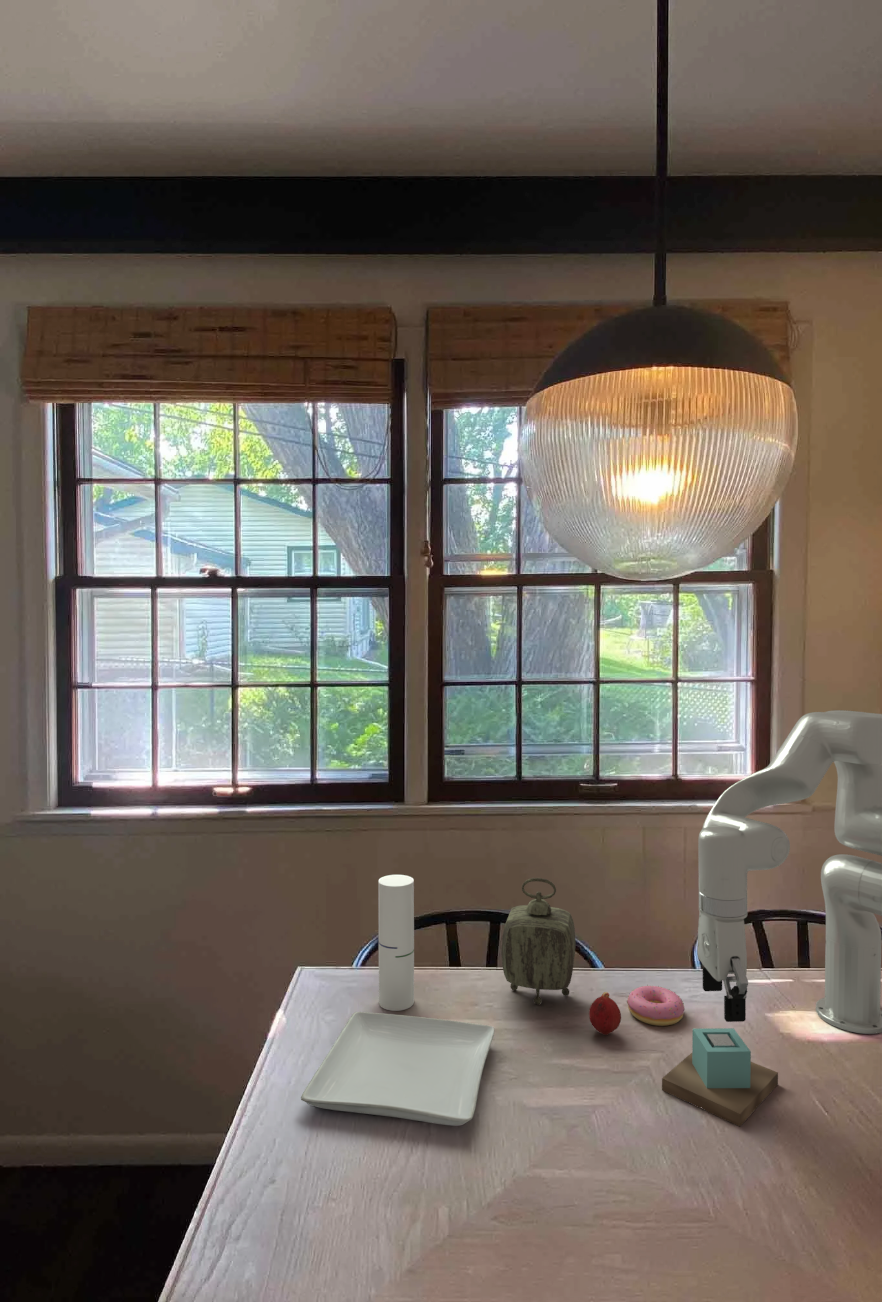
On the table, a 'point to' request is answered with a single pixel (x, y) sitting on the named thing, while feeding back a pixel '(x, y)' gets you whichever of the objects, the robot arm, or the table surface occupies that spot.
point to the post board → (720, 1101)
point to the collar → (721, 1060)
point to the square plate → (403, 1068)
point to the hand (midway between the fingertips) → (723, 1005)
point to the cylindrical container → (396, 942)
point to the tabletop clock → (538, 945)
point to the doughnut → (655, 1005)
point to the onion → (604, 1014)
